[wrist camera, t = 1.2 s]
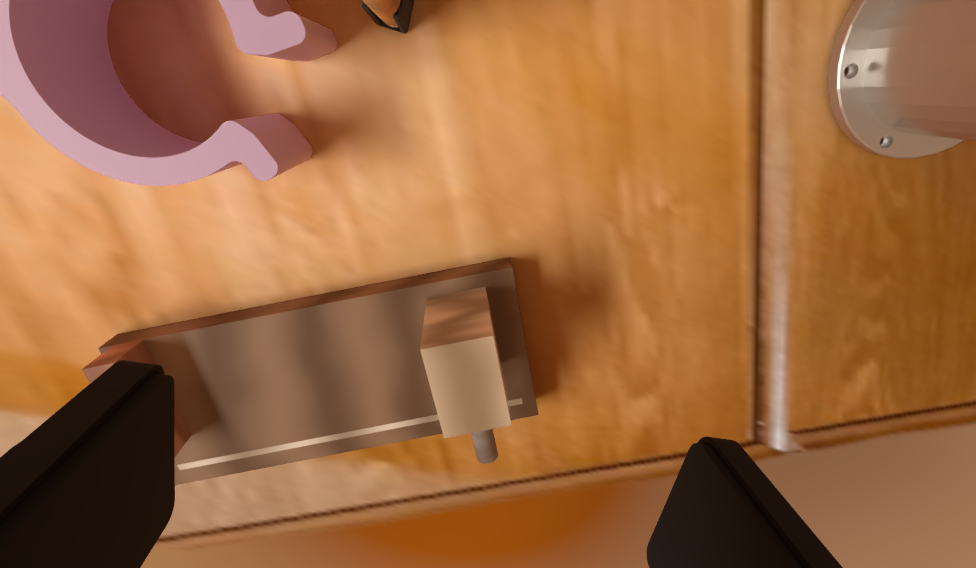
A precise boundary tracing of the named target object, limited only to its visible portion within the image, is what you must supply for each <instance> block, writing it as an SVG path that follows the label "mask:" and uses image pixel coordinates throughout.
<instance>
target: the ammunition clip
mask: <svg viewBox="0 0 976 568" xmlns="http://www.w3.org/2000/svg"><path fill="white" fill-rule="evenodd" d="M362 1H363V3H362V7H363V8H364V9H365V11H366V12H367V13H368V14H369V15H370V17H371V18H372V19H373V20H374V22H375V23H376V24H377V25H380V26H383V27H386V28H389V29H392V30H395V31H398V32H401V33H404V34H405V33H406V32H407V31H408V27H409V22H410V18H411V13H412V9H413V4H414V0H362Z"/></svg>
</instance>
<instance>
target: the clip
mask: <svg viewBox="0 0 976 568" xmlns="http://www.w3.org/2000/svg"><path fill="white" fill-rule="evenodd" d="M219 2H220V4H221V6H222V8H223V10H224V12H225V14H226V16H227V18H228V21H229V23H230V26H231V29H232V32H233V36H234V39H235V43H236V45H237V47H238V48H239V50H240V51H242V52H243V53H246V54H251V55H257V56H264V57H271V58H277V59H284V60H291V61H310V60H313V59H315V58H318V57H321V56H324V55H326V54H329V53H332V52H334V51H335V49H336V47H337V41H336V38H335V35H334V33H333V32H332V30H330V29H329V28H327V27H325V26H322V25H320V24H318V23H316V22H314V21H311V20H309V19H307V18H305V17H303V16H300V15H298V14H296V13H294V12H293V11H292V9H291V7H290V5H289V3H288V2H287V0H219ZM112 3H113V0H0V95H1V96H3V97H4V98H5V99H6V100H7V101H8V102H9V103H10V104H11V105H12V106H13V107H14V108H15V109H16V110H17V111H18V112H19V113H20V115H21V116H22V117H23V118H24V119H25V121H26V122H27V123H28V124H29V125H30V126H31V127H32V128H33V129H34V130H35V131H36V132H37V133H38V134H39V135H40V136H41V137H43V138H44V139H45V140H46V141H47V142H48V143H50V144H51V145H52V146H53V147H55V148H56V149H57V150H59V151H60V152H62V153H63V154H64V155H66V156H67V157H69V158H71V159H72V160H74V161H75V162H77V163H79V164H81V165H83V166H84V167H87V168H89V169H91V170H93V171H95V172H97V173H100V174H102V175H105V176H108V177H110V178H113V179H117V180H120V181H124V182H129V183H134V184H140V185H149V186H168V185H177V184H183V183H188V182H192V181H195V180H198V179H201V178H204V177H206V176H209V175H212V174H215V173H217V172H220V171H223V170H225V169H228V168H231V167H233V166H236V165H239V164H241V163H243V164H244V165H245V166H246V167H247V169H248V170H249V171H250V172H251V173H252V175H253V176H254V177H255V178H256V179H258V180H261V181H267V180H269V179H271V178H273V177H275V176H277V175H279V174H281V173H283V172H285V171H287V170H289V169H291V168H293V167H294V166H296V165H298V164H300V163H302V162H304V161H306V160H307V159H309V158H310V157H311V156H312V153H313V150H312V147H311V145H310V144H309V143H308V141H307V140H306V139H305V138H304V136H303V135H302V134H301V132H300V131H299V130H298V128H297V127H296V126H295V125H294V124H293V123H292V122H290V121H289V120H288V119H286V118H285V117H283V116H282V115H280V114H277V113H274V114H268V115H261V116H255V117H249V118H243V119H236V120H230V121H226V122H224V123H223V124H222V125H221V126H220V127H219V129H218V130H217V131H216V132H215V133H214V134H213V135H212V136H211V137H210V138H209V139H207V140H206V141H205V142H199V141H194V140H190V139H187V138H184V137H181V136H179V135H176V134H174V133H172V132H170V131H168V130H166V129H165V128H163V127H162V126H160V125H158V124H157V123H156V122H154V121H153V120H152V119H151V118H149V117H148V116H147V115H146V114H145V113H144V112H143V111H142V110H141V109H140V108H139V107H138V106H137V105H136V104H135V103H134V101H133V100H132V99H131V98H130V96H129V95H128V93H127V92H126V90H125V89H124V87H123V86H122V84H121V82H120V80H119V78H118V76H117V74H116V71H115V69H114V66H113V63H112V60H111V56H110V52H109V46H108V37H107V27H108V18H109V13H110V9H111V6H112Z"/></svg>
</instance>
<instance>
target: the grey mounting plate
mask: <svg viewBox="0 0 976 568" xmlns="http://www.w3.org/2000/svg"><path fill="white" fill-rule="evenodd" d="M482 287H486V292H487V297H488V302H489V307H490V312H491V317H492V322H493V327H494V332H495V337H496V342H497V347H498V352H499V357H500V362H501V367H502V373H503V379H504V385H505V391H506V396H507V402H508V408H509V414H510V420H514V419H519V418H524V417H529V416H535V415H538V410H537V404H536V398H535V393H534V387H533V381H532V376H531V370H530V364H529V359H528V353H527V347H526V342H525V336H524V330H523V325H522V319H521V313H520V308H519V302H518V296H517V291H516V285H515V279H514V274H513V268H512V265H511V262H510V258H504V259H499V260H494V261H489V262H484V263H479V264H473V265H468V266H463V267H458V268H453V269H448V270H443V271H438V272H433V273H428V274H422V275H417V276H412V277H407V278H402V279H397V280H392V281H387V282H382V283H377V284H372V285H366V286H361V287H356V288H351V289H346V290H341V291H336V292H331V293H326V294H321V295H316V296H310V297H305V298H300V299H295V300H290V301H285V302H280V303H275V304H270V305H265V306H259V307H254V308H249V309H244V310H239V311H234V312H229V313H224V314H219V315H214V316H209V317H203V318H198V319H193V320H188V321H183V322H178V323H173V324H168V325H163V326H158V327H152V328H147V329H142V330H137V331H132V332H127V333H122V334H117V335H116V336H114V337H113V338H112V339H110V340H109V341H108V342H106V343H105V344H104V345H102V346H101V347H100V348H98V349H99V350H100V352H101V355H100V356H99V357H97V358H96V359H95V360H93V361H92V362H91V363H90V364H88V365H87V366H86V367H84V368H83V369H82V370H83V372H84V374H85V376H86V377H87V379H88V381H89V383H90V384H91V383H92V382H93V381H94V380H95V379H96V378H98V377H99V376H100V375H101V374H102V373H104V372H105V371H106V370H107V369H108V368H110V367H111V366H112V365H113V364H114V363H116V362H118V361H120V360H126V361H134V362H142V363H149V364H157V365H160V366H162V368H163V370H164V375H171V376H172V377H173V379H174V446H175V485H178V484H183V483H189V482H194V481H199V480H204V479H209V478H214V477H220V476H225V475H230V474H235V473H240V472H245V471H251V470H256V469H261V468H266V467H271V466H276V465H282V464H287V463H292V462H297V461H302V460H307V459H313V458H318V457H323V456H328V455H333V454H338V453H344V452H349V451H354V450H359V449H364V448H369V447H374V446H380V445H385V444H390V443H395V442H400V441H405V440H411V439H416V438H421V437H426V436H431V435H436V434H442V433H443V432H442V429H441V425H440V421H439V418H438V414H437V410H436V406H435V403H434V399H433V395H432V392H431V388H430V384H429V381H428V377H427V373H426V369H425V366H424V362H423V358H422V355H421V351H420V347H421V339H422V331H423V323H424V315H425V307H426V299H427V298H431V297H436V296H441V295H446V294H451V293H456V292H461V291H466V290H471V289H477V288H482Z"/></svg>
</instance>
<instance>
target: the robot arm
mask: <svg viewBox="0 0 976 568" xmlns="http://www.w3.org/2000/svg"><path fill="white" fill-rule="evenodd" d="M828 89H829V100H830V103H831V107H832V111H833V114H834V117H835V119H836V120H837V122H838V124H839V126H840V128H841V130H842V131H843V132H844V133H845V134H846V135H847V137H848V138H849V139H850V140H851V141H852V142H853V143H855V144H856V145H858V146H859V147H861V148H862V149H864V150H866V151H869V152H872V153H874V154H877V155H881V156H887V157H893V158H919V157H924V156H929V155H934V154H936V153H939V152H941V151H944V150H947V149H949V148H952V147H953V146H955V145H957V144H959V143H960V142H962V141H964V140H970V141H976V0H855V2H854V3H853V5H852V6H851V8H850V10H849V11H848V13H847V14H846V16H845V18H844V21H843V23H842V25H841V27H840V29H839V32H838V34H837V36H836V39H835V43H834V46H833V50H832V54H831V57H830V64H829V73H828ZM174 501H175V446H174V379H173V377H172V376H171V375H164V370H163V368H162V366H160V365H157V364H149V363H142V362H134V361H126V360H120V361H118V362H116V363H114V364H113V365H112V366H111V367H110V368H108V369H107V370H106V371H105V372H104V373H102V374H101V375H100V376H99V377H98V378H96V379H95V380H94V381H93V382H92V383H91V384H89V385H88V386H87V387H86V388H85V389H83V390H82V391H81V392H80V393H79V394H77V395H76V396H75V397H74V398H73V399H71V400H70V401H69V402H68V403H67V404H66V405H64V406H63V407H62V408H61V409H60V410H58V411H57V412H56V413H55V414H54V415H52V416H51V417H50V418H49V419H48V420H46V421H45V422H44V423H43V424H42V425H41V426H39V427H38V428H37V429H36V430H35V431H33V432H32V433H31V434H30V435H29V436H27V437H26V438H25V439H24V440H23V441H21V442H20V443H18V444H17V445H15V446H14V447H12V448H11V449H10V450H9V451H8V452H6V453H5V454H4V455H3V456H2V457H0V568H140V567H141V565H142V564H143V562H144V561H145V559H146V557H147V556H148V554H149V553H150V551H151V549H152V548H153V546H154V545H155V543H156V541H157V540H158V538H159V537H160V535H161V533H162V532H163V530H164V529H165V527H166V525H167V524H168V522H169V519H170V517H171V514H172V511H173V507H174ZM647 561H648V565H649V567H650V568H842V566H841V565H840V564H839V563H838V562H837V560H836V559H835V558H834V557H833V556H832V555H831V553H830V552H829V551H828V550H827V549H826V547H825V546H824V545H823V544H822V543H821V541H820V540H819V539H818V538H817V537H816V535H815V534H814V533H813V532H812V531H811V529H810V528H809V527H808V526H807V525H806V523H805V522H804V521H803V520H802V519H801V517H800V516H799V515H798V514H797V513H796V511H795V510H794V509H793V508H792V507H791V506H790V504H789V503H788V502H787V501H786V500H785V498H784V497H783V496H782V495H781V494H780V492H779V491H778V490H777V489H776V488H775V487H774V485H773V484H772V483H771V482H770V480H769V479H768V478H767V477H766V476H765V474H764V473H763V472H762V471H761V470H760V469H759V467H758V466H757V465H756V464H755V462H754V461H753V460H752V459H751V458H750V456H749V455H748V454H747V453H746V452H745V451H744V449H743V448H742V447H741V446H740V445H739V444H738V443H737V442H736V441H733V440H727V439H720V438H712V437H703V438H701V439H700V440H699V441H698V443H695V444H693V445H692V446H691V447H690V449H689V451H688V453H687V455H686V458H685V460H684V462H683V465H682V467H681V469H680V472H679V474H678V476H677V479H676V481H675V483H674V485H673V488H672V490H671V492H670V495H669V497H668V499H667V502H666V504H665V506H664V509H663V511H662V513H661V516H660V518H659V521H658V522H657V525H656V527H655V529H654V532H653V534H652V536H651V539H650V541H649V543H648V547H647Z"/></svg>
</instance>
